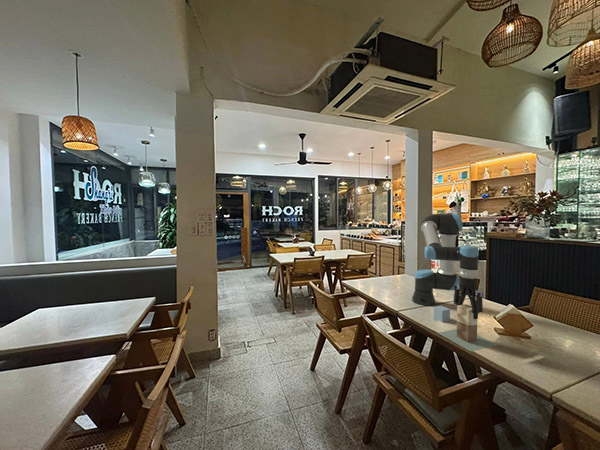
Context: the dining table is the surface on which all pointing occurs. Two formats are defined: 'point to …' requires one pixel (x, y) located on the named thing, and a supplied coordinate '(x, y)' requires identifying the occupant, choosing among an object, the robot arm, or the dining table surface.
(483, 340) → the build plate
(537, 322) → the dining table surface
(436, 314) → the blue block
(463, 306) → the beech block
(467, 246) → the robot arm
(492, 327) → the trading card
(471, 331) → the walnut block
